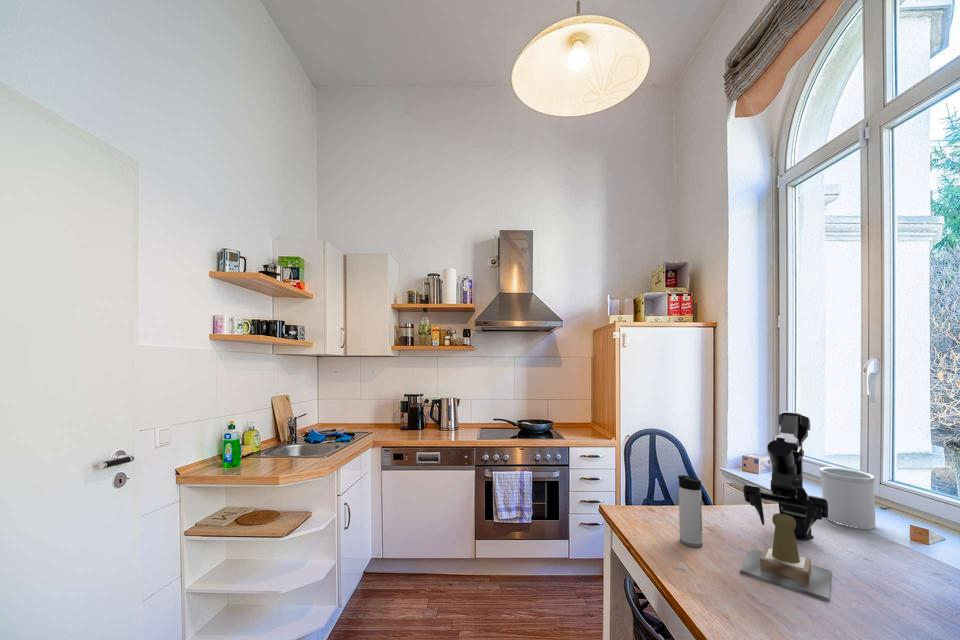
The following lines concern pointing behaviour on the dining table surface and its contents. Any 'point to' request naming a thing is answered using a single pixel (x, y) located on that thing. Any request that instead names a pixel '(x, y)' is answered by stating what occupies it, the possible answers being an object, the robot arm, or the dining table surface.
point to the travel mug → (690, 511)
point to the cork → (785, 539)
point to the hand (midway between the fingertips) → (783, 529)
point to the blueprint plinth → (811, 590)
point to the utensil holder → (849, 496)
